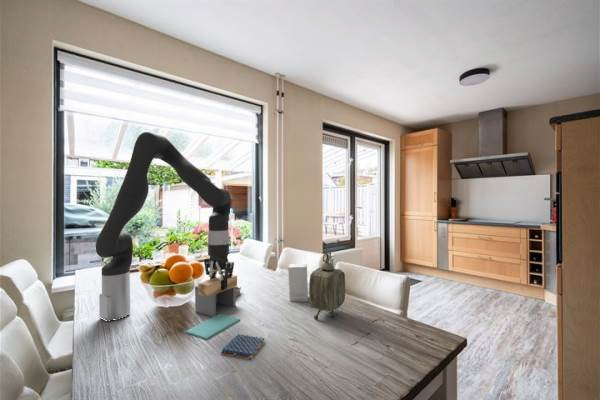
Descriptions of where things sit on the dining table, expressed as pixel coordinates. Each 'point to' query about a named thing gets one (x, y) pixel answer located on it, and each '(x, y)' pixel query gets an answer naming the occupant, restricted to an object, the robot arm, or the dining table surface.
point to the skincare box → (298, 282)
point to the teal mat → (212, 326)
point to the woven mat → (243, 346)
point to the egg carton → (237, 290)
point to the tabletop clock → (326, 287)
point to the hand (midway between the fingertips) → (218, 288)
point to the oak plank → (215, 285)
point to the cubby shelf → (214, 301)
